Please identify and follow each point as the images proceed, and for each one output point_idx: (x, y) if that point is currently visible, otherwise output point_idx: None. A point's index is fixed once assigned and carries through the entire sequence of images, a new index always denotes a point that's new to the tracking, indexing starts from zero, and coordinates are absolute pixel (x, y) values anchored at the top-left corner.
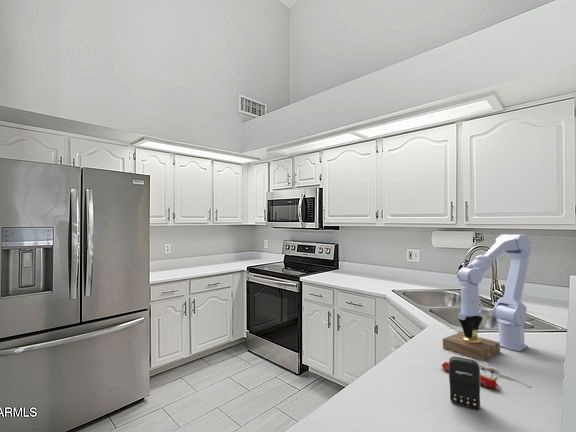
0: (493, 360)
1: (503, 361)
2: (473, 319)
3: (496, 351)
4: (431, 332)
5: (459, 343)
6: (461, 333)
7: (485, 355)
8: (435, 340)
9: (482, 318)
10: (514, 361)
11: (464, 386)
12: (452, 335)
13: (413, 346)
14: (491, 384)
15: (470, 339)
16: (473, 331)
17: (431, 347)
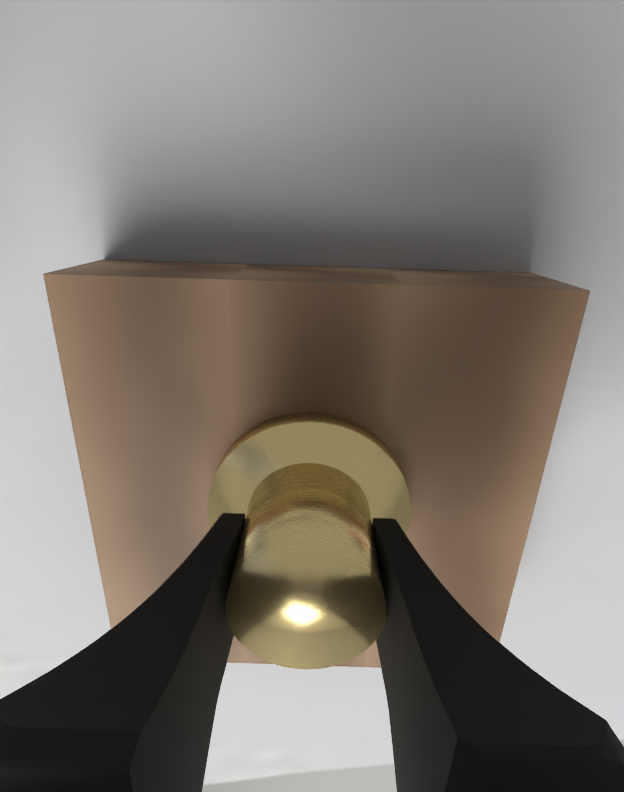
0: (431, 214)
1: (374, 128)
2: (175, 784)
3: (195, 265)
4: None
5: (521, 540)
6: None
7: (502, 278)
8: (327, 685)
9: (21, 727)
10: (264, 35)
11: None
12: None
13: (598, 711)
14: None
15: (370, 512)
16: (368, 564)
17: (519, 644)
